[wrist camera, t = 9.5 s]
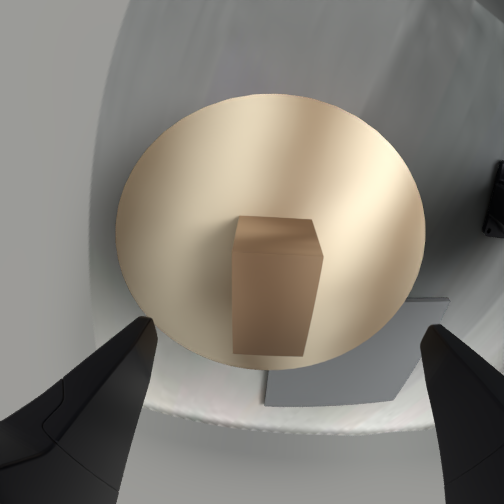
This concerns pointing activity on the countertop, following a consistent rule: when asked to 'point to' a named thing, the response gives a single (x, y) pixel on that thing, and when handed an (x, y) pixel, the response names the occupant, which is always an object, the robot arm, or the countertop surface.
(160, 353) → the countertop surface
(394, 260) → the lid
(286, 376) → the mat
